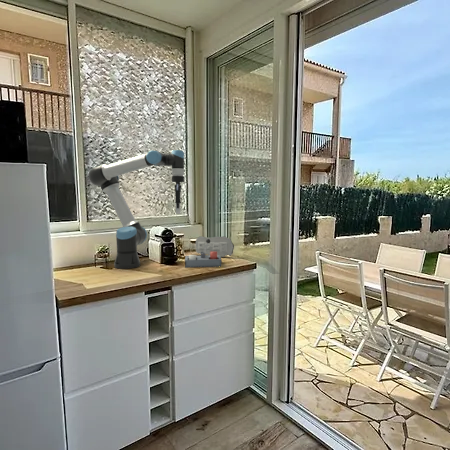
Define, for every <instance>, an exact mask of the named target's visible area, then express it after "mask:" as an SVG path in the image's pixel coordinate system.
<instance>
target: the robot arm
mask: <svg viewBox="0 0 450 450" xmlns="http://www.w3.org/2000/svg"><path fill="white" fill-rule="evenodd" d="M152 166H155V167H156V166H157V167H171V175H172V176H171V182H172V183H175V185H174V193H175V202H174V204H175V214H177V215H178V214H181V204H182V201H181V192H182V185H181V183H184V182H185V176H184V175H185V172H186V170H185V152H184V150H182V149H181V150H179V149H173V150H171V153H162V152H159V151H158V150H149V151H147V153H142V154H140V155H137V156H133V157H130V158H128V159H123V160H120V161H117V162H114V163H111V164H110V163H109V164H104V163H103V164H101V165H97V166H94V167H92V168H91V169H90V170H89V171H88V172H89V173H88V179H89V181H90V183H91V184H93V185H94V186H97V187H98V186H99V187H100V190H101V192H102V193H103V192H104V193H105V194H106V195H107V197H108V199H109V201H110V203H111V206H112V207H113V209H114V211H115V213H116V216H117V217H118V219H119V221H120V224H121V225H122V227H120V228H117V230H116V233H115V237H116V256H115V259H114V263H113V265H114V268H115V269H118V270H119V269H123V270H124V269H127V270H128V269H135V268H138V267H141V261H140V258H139V257H140V256H139V255H138V246H140V245H143V243H144V242H145V241H146V240H147V238H148V232H147V229H146V228H144V227H143V226H141V224H140V222H139V221H137V220H136V219H135V217H134V214H133V213H132V210H131V209H130V207H129V205H128V203H127V201H126V199H125V197H124V196H123V193H122V191H121V189H120V185H121V184H120V182H119V178H120V177H119V176H121V175H126V174H129V173H132V172H134V171H135V172H136V171H138V170H141V169H145V168H148V167H152Z"/></svg>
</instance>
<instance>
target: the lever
mask: <svg viewBox="0 0 450 450" xmlns="http://www.w3.org/2000/svg"><path fill="white" fill-rule="evenodd" d="M209 243H210V239H207V240H206V245H205V248H204V251H203V253H205V252H206V249H207V246H208V244H209Z"/></svg>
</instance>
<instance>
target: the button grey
mask: <svg viewBox="0 0 450 450" xmlns="http://www.w3.org/2000/svg"><path fill="white" fill-rule="evenodd" d="M188 256H189V260H196V256H197V255H196V254H189V255H188Z"/></svg>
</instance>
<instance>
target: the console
mask: <svg viewBox="0 0 450 450" xmlns="http://www.w3.org/2000/svg"><path fill="white" fill-rule="evenodd" d="M222 265H223V264H222V257H220V255H217V259H210V255H207V254H205V253H203V252H201V254H200V255H196V260H189V255H185V258H184V268H220V267H221V266H222ZM219 266H220V267H219ZM221 268H222V267H221Z"/></svg>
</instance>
